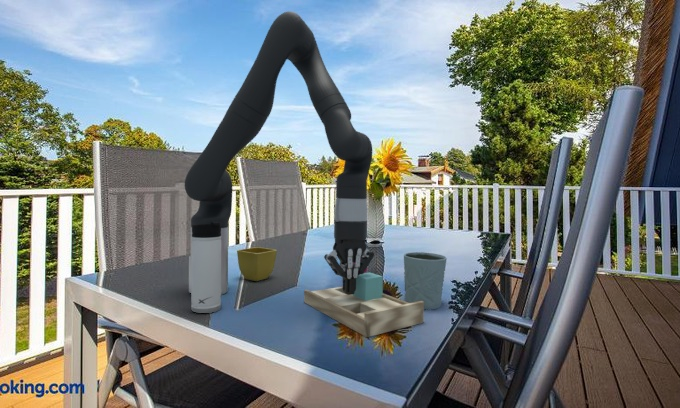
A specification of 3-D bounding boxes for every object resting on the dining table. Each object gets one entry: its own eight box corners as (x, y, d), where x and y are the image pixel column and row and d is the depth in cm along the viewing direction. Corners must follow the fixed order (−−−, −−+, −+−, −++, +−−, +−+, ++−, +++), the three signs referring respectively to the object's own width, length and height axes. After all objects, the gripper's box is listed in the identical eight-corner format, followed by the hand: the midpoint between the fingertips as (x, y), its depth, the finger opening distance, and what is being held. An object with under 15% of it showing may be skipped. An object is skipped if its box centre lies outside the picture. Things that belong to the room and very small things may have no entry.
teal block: (365, 300, 83) (365, 279, 83) (352, 295, 87) (353, 274, 87) (382, 297, 86) (382, 276, 86) (369, 292, 90) (369, 272, 90)
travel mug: (204, 316, 78) (205, 223, 77) (185, 310, 81) (185, 221, 81) (227, 308, 83) (228, 221, 82) (208, 303, 87) (209, 219, 86)
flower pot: (277, 278, 113) (277, 249, 112) (256, 284, 105) (257, 253, 105) (256, 274, 118) (257, 246, 117) (235, 279, 110) (236, 250, 110)
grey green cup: (400, 297, 94) (401, 251, 94) (439, 298, 94) (440, 252, 94) (406, 310, 84) (407, 258, 84) (450, 311, 84) (451, 259, 83)
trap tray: (366, 337, 68) (367, 314, 68) (304, 302, 89) (304, 284, 89) (423, 322, 76) (423, 301, 76) (354, 293, 97) (354, 277, 97)
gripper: (364, 216, 90) (362, 286, 91) (317, 218, 83) (316, 293, 83) (383, 219, 84) (381, 293, 84) (335, 220, 76) (333, 302, 77)
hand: (349, 293), depth 84 cm, fingers closed
